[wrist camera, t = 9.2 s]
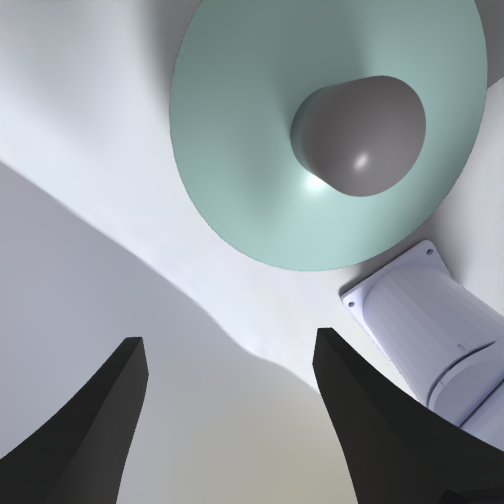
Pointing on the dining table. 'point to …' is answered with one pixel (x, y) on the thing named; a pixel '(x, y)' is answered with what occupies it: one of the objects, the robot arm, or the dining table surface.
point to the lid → (325, 121)
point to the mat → (493, 36)
